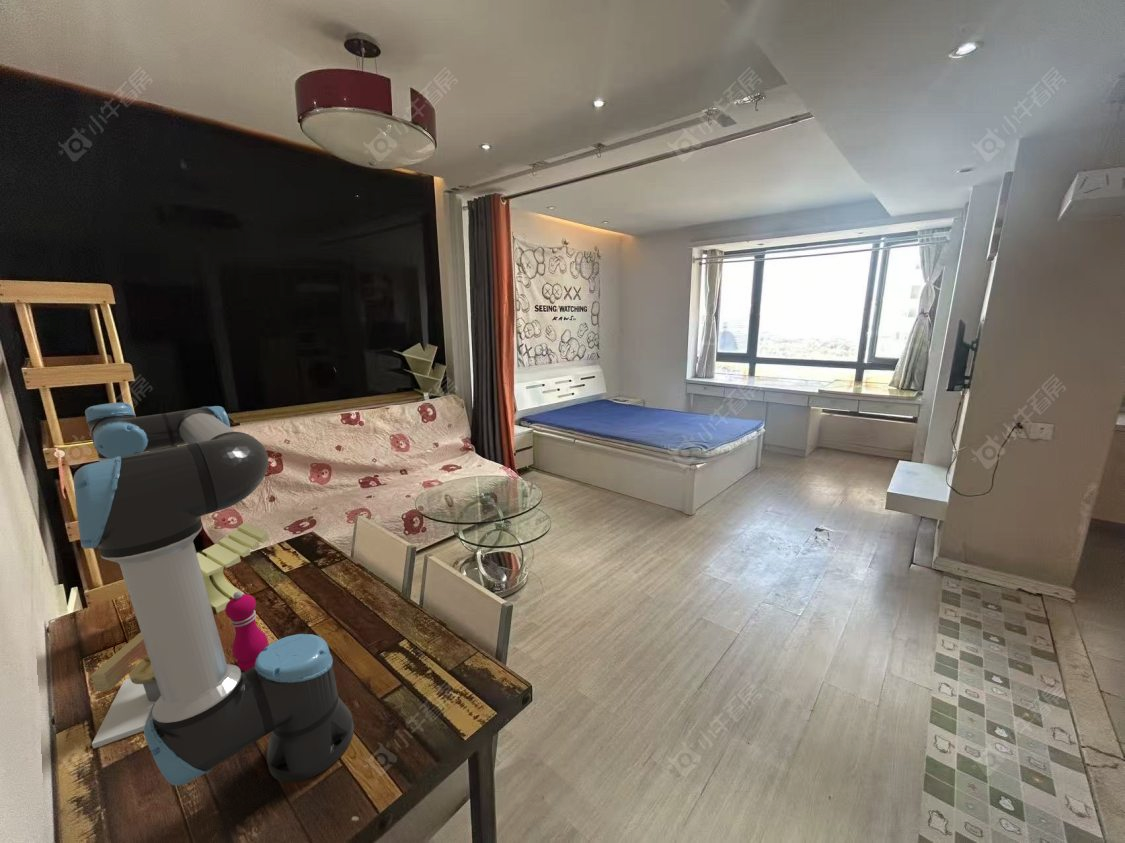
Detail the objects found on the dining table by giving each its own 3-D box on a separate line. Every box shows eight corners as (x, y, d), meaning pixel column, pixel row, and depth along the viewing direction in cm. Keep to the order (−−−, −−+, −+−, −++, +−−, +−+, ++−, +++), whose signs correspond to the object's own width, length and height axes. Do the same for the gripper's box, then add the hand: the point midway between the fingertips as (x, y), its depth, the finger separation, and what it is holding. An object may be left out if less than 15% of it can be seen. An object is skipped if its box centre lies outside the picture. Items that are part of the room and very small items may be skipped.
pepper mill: (253, 674, 106) (236, 603, 101) (228, 670, 107) (210, 600, 102) (278, 652, 113) (262, 584, 108) (254, 648, 114) (238, 581, 109)
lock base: (204, 709, 97) (197, 682, 95) (93, 748, 89) (82, 720, 87) (219, 654, 112) (213, 630, 111) (125, 683, 104) (117, 658, 102)
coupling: (80, 715, 88) (65, 677, 85) (166, 635, 109) (156, 602, 106) (141, 710, 89) (128, 672, 86) (215, 632, 110) (206, 599, 107)
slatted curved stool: (252, 567, 150) (241, 520, 145) (278, 581, 142) (267, 532, 137) (137, 621, 125) (119, 566, 120) (159, 642, 117) (142, 584, 112)
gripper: (82, 483, 94) (114, 579, 100) (163, 468, 101) (188, 558, 108) (89, 473, 99) (118, 565, 105) (165, 460, 107) (189, 546, 113)
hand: (154, 562), depth 106 cm, fingers closed
